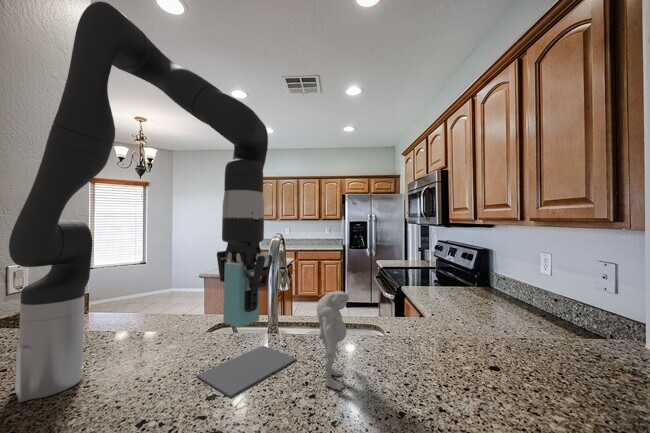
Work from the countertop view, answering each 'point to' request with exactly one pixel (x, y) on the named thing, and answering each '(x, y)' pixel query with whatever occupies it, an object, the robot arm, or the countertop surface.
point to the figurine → (332, 331)
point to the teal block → (237, 297)
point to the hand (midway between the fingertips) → (241, 307)
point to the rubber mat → (245, 370)
